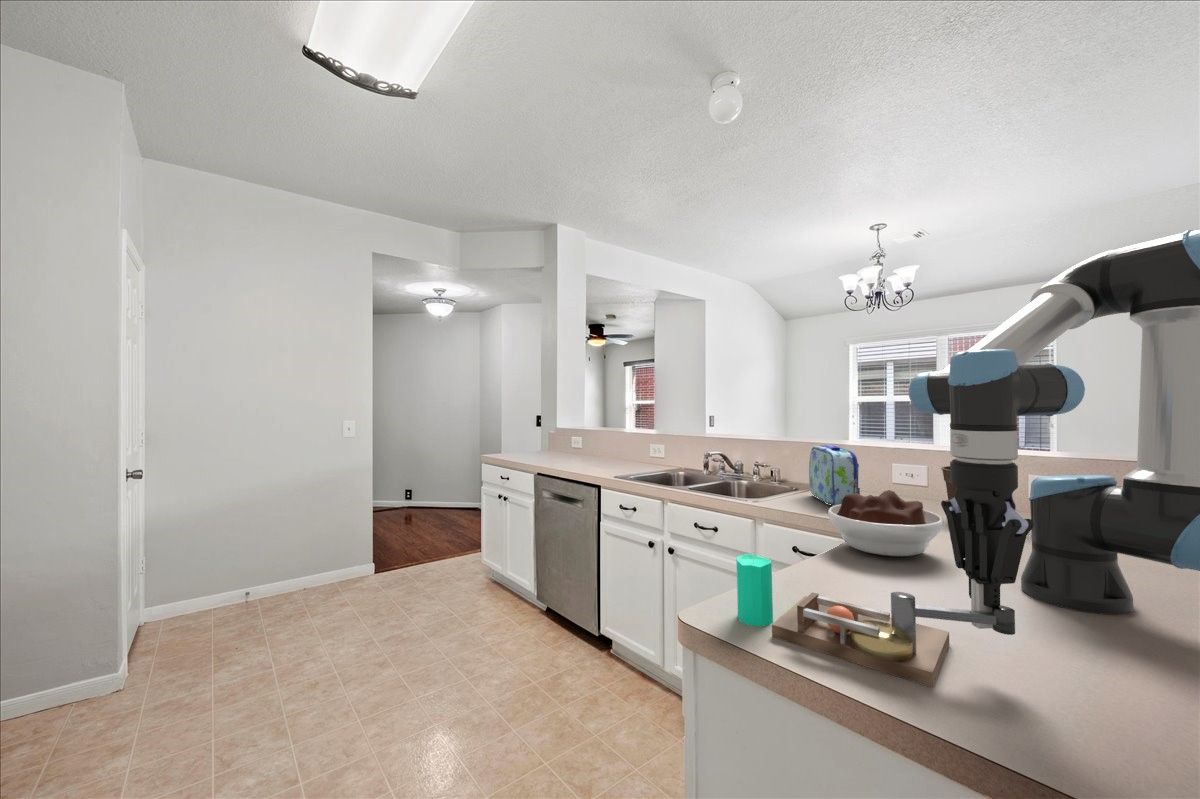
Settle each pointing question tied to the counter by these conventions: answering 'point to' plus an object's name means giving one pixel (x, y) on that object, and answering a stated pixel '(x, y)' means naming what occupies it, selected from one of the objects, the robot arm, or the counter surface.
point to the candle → (754, 590)
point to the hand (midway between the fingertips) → (984, 626)
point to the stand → (813, 632)
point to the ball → (842, 613)
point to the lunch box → (833, 473)
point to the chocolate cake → (885, 524)
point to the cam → (901, 634)
